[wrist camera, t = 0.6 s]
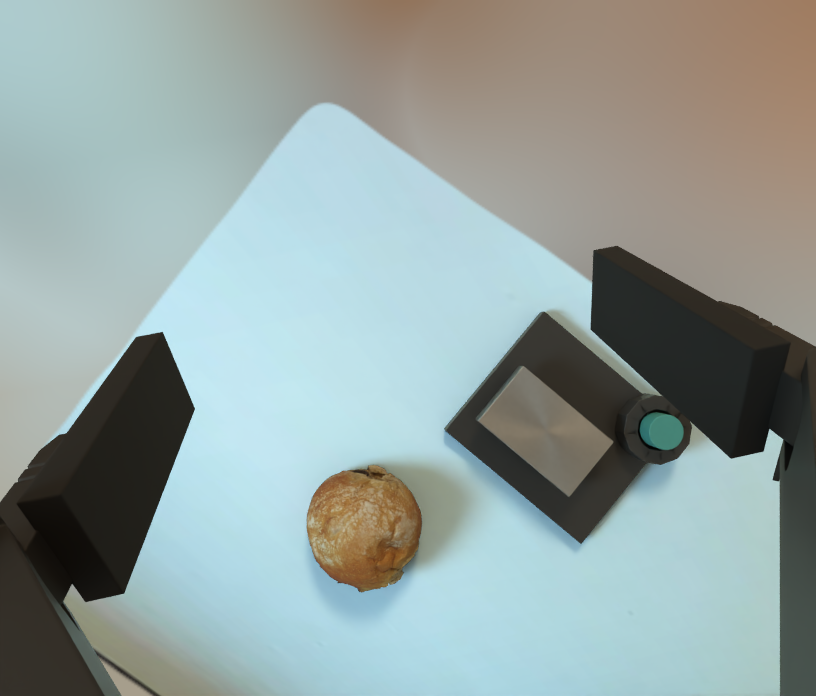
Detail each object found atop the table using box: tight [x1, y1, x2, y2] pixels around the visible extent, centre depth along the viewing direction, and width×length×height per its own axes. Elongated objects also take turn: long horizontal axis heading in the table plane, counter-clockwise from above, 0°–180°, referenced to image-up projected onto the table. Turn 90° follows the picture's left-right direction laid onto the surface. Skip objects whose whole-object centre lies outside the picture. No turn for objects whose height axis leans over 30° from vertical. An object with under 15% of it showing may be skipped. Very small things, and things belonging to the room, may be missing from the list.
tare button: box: [640, 412, 684, 450], centre depth 44 cm, size 3×3×2 cm
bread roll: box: [307, 465, 422, 592], centre depth 44 cm, size 10×10×8 cm
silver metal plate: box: [476, 366, 613, 497], centre depth 43 cm, size 10×6×2 cm, turn 50°
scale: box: [444, 312, 692, 543], centre depth 46 cm, size 17×15×3 cm
